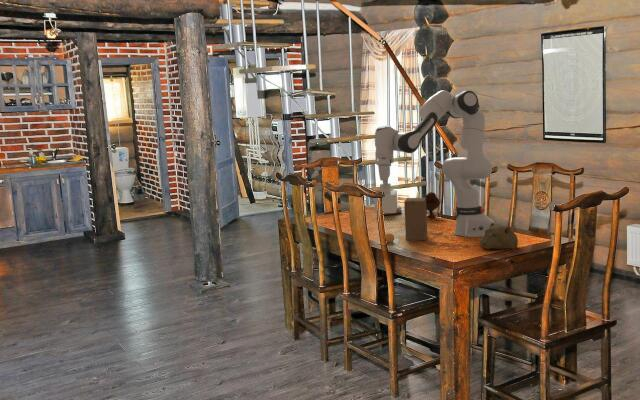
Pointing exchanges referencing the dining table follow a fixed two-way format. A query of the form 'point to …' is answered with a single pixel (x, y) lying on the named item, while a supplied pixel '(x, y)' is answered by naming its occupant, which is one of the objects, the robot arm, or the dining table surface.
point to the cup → (387, 200)
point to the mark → (396, 240)
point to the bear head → (499, 238)
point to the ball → (389, 237)
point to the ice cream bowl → (431, 203)
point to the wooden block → (415, 218)
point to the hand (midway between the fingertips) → (385, 187)
